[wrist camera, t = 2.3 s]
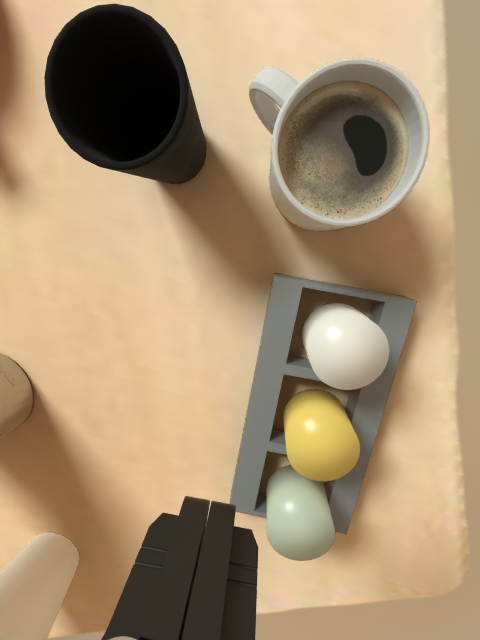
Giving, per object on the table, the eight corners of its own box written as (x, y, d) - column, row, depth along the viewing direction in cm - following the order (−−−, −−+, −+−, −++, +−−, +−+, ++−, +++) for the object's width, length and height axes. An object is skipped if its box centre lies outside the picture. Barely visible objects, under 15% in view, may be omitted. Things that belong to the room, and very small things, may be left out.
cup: (233, 125, 28) (211, 45, 17) (197, 211, 30) (155, 193, 19) (149, 83, 28) (68, -27, 17) (118, 173, 30) (25, 131, 18)
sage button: (317, 519, 34) (326, 566, 29) (261, 508, 34) (261, 553, 29) (330, 471, 32) (342, 512, 27) (272, 459, 32) (273, 498, 28)
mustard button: (336, 449, 32) (350, 487, 27) (277, 438, 32) (280, 473, 27) (351, 395, 30) (368, 424, 25) (290, 383, 30) (294, 410, 26)
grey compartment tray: (341, 514, 36) (346, 534, 34) (231, 492, 37) (228, 510, 34) (404, 296, 31) (416, 301, 28) (273, 273, 31) (274, 275, 29)
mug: (379, 221, 29) (435, 211, 20) (270, 240, 30) (272, 240, 21) (367, 81, 27) (424, -7, 17) (250, 107, 28) (242, 38, 18)
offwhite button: (359, 370, 30) (377, 396, 25) (296, 359, 30) (301, 381, 25) (376, 309, 28) (398, 323, 24) (309, 297, 29) (319, 308, 24)
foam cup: (105, 548, 40) (31, 691, 27) (72, 597, 42) (-11, 751, 29) (34, 508, 39) (-76, 635, 27) (4, 560, 41) (-111, 700, 29)
